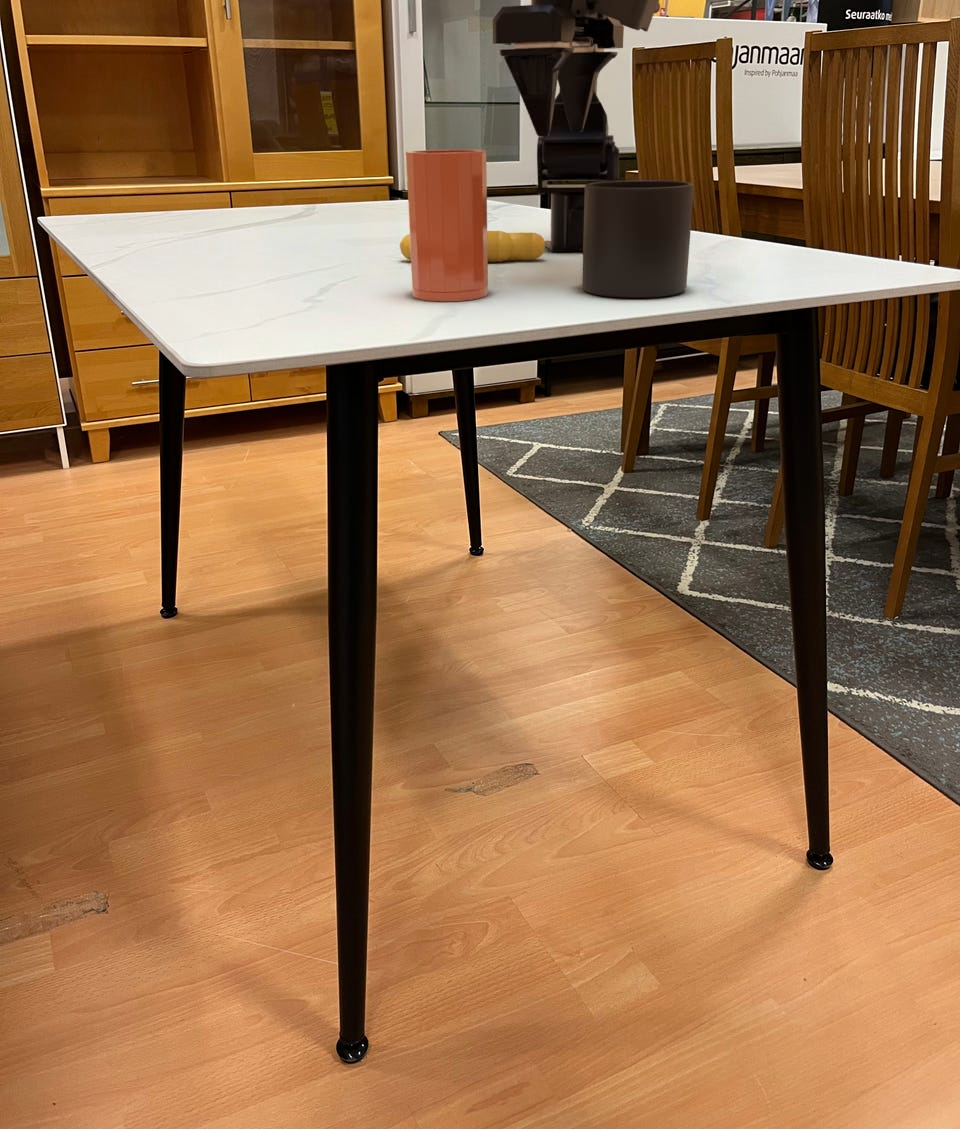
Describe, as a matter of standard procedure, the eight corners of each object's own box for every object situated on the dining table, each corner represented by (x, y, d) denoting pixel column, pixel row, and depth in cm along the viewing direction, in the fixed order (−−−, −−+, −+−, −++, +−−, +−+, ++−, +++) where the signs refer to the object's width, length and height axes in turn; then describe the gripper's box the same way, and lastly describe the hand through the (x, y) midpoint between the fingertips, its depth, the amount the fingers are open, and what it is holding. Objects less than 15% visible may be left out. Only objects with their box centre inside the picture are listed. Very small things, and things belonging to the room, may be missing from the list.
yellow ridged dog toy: (397, 264, 105) (395, 233, 103) (402, 259, 108) (400, 229, 107) (544, 263, 104) (545, 232, 102) (545, 258, 107) (545, 228, 106)
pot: (411, 289, 90) (404, 150, 85) (483, 287, 91) (481, 148, 85) (414, 302, 84) (407, 153, 79) (491, 300, 84) (490, 151, 79)
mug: (675, 276, 94) (682, 177, 90) (693, 298, 83) (701, 187, 79) (579, 277, 95) (581, 178, 91) (584, 299, 84) (587, 188, 80)
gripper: (621, -85, 73) (613, 138, 80) (681, -56, 89) (669, 130, 95) (488, -72, 78) (491, 138, 85) (567, -47, 93) (563, 130, 100)
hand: (560, 134), depth 91 cm, fingers open, 9 cm apart
